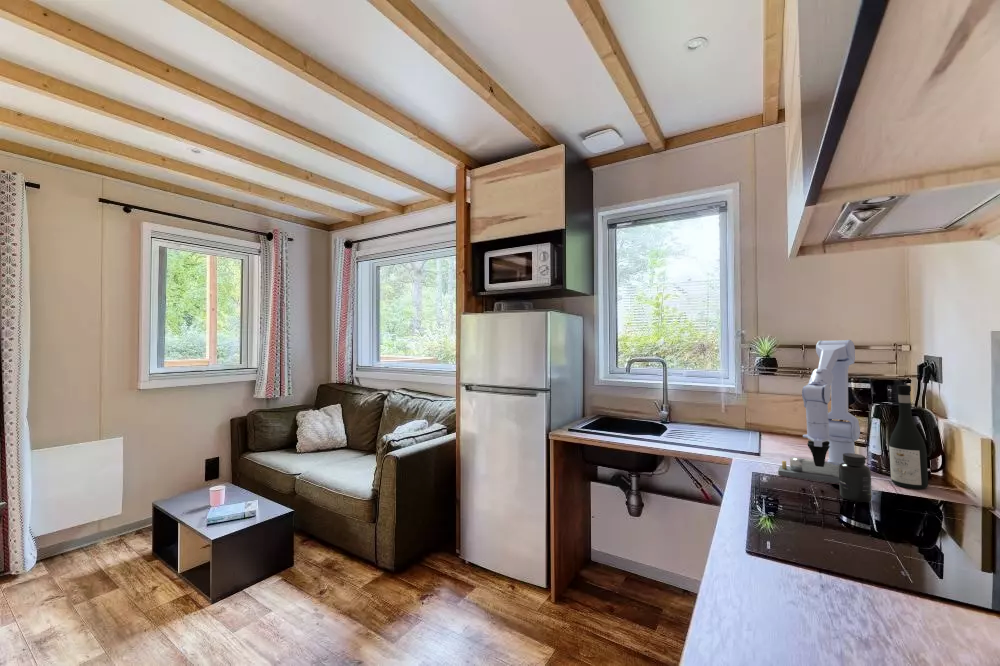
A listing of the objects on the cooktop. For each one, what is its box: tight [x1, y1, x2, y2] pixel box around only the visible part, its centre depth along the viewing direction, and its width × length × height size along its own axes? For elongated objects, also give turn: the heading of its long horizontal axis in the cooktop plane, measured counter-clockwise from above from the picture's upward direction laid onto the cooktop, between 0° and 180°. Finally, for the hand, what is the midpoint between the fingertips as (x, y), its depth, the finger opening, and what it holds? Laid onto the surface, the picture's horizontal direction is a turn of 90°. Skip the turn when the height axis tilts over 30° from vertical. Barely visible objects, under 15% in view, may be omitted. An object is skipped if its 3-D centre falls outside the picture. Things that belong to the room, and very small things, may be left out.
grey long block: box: [789, 456, 841, 477], centre depth 136 cm, size 5×16×4 cm, turn 52°
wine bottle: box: [888, 384, 929, 490], centre depth 127 cm, size 8×8×30 cm
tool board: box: [777, 460, 839, 484], centre depth 136 cm, size 7×22×4 cm, turn 52°
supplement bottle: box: [838, 453, 873, 503], centre depth 118 cm, size 7×7×12 cm
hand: (819, 465), depth 136 cm, fingers closed on grey long block, 3 cm apart
